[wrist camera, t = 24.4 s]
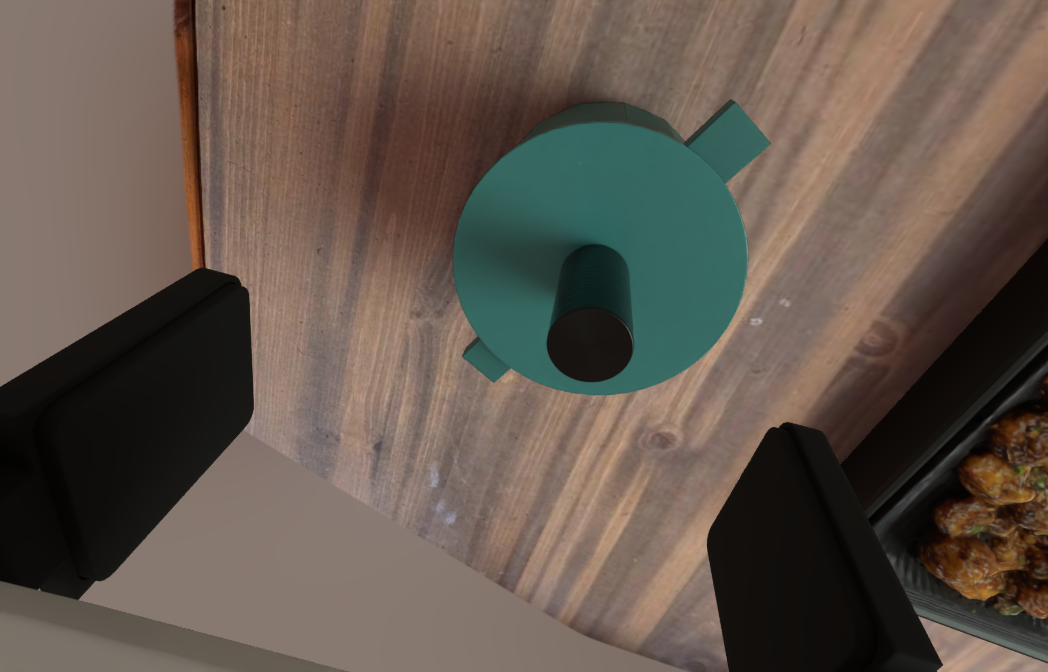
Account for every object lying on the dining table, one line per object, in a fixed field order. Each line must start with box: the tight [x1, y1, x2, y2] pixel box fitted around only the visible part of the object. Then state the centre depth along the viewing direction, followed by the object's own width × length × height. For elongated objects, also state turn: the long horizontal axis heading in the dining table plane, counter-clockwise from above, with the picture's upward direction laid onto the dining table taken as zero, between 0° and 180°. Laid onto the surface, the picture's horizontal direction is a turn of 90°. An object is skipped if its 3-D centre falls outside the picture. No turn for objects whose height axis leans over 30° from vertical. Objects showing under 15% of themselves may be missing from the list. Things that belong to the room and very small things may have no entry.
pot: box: [462, 100, 771, 383], centre depth 30 cm, size 13×18×10 cm
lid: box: [453, 120, 748, 395], centre depth 24 cm, size 14×14×8 cm
